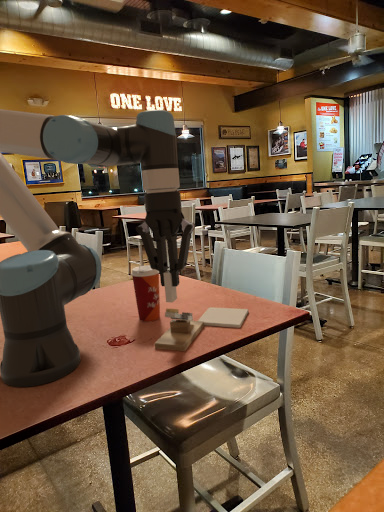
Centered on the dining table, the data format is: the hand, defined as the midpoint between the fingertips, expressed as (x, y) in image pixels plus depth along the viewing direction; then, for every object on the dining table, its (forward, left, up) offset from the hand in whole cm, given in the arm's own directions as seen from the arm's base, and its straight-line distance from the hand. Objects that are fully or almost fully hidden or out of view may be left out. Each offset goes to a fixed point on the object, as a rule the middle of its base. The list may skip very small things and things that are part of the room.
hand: (171, 300), depth 80 cm
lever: (+4, 0, -6) cm, 7 cm away
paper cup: (+14, +13, -11) cm, 22 cm away
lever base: (+4, 0, -10) cm, 11 cm away
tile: (+17, -7, -10) cm, 21 cm away
